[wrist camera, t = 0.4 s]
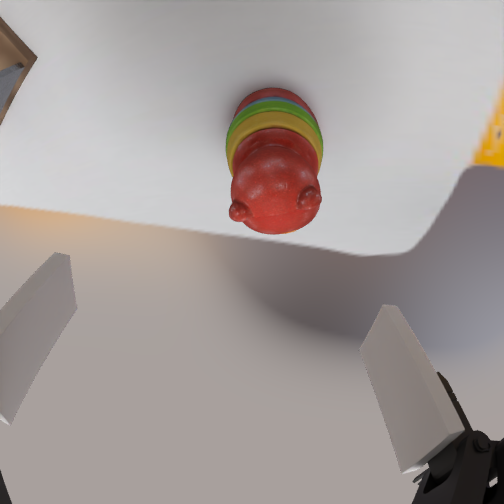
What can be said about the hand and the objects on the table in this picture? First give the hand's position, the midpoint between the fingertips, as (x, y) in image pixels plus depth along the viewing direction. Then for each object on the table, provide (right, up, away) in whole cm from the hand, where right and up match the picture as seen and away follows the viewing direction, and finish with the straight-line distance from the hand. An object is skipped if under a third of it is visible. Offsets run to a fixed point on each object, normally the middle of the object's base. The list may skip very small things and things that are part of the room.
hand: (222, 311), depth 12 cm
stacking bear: (+4, +17, +22) cm, 28 cm away
